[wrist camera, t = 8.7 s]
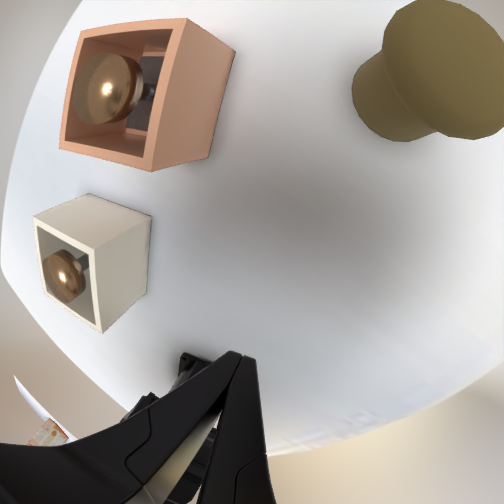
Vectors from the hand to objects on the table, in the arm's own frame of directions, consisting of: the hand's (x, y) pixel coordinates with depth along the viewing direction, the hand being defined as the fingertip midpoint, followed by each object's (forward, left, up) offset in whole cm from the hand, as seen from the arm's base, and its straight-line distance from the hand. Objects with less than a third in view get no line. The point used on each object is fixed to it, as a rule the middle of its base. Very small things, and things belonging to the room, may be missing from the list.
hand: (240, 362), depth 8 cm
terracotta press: (+7, +11, -13) cm, 18 cm away
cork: (+11, -4, -13) cm, 17 cm away
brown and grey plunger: (+7, +11, -13) cm, 18 cm away
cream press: (-7, +15, -13) cm, 21 cm away
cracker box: (-124, +66, -13) cm, 141 cm away
